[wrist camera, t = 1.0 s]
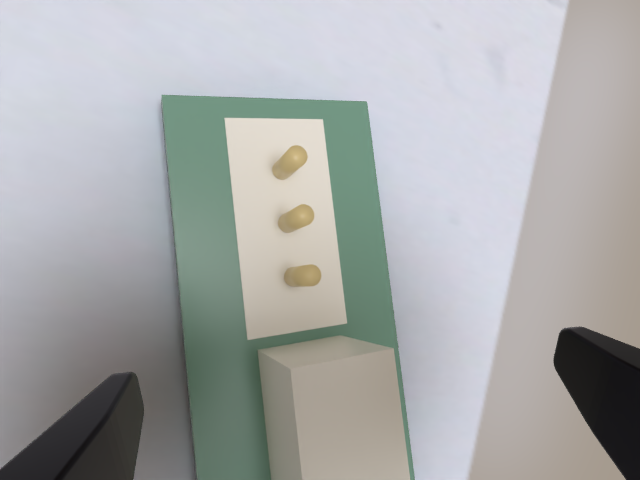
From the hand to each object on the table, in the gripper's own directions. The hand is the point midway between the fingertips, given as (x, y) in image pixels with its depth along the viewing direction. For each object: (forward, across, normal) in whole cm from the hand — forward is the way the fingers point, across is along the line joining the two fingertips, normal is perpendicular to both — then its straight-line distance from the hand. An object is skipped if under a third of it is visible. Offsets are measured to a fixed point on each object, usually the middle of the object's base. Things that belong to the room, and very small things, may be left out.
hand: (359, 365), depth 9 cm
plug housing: (+7, 0, +10) cm, 13 cm away
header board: (+11, +1, +6) cm, 12 cm away
